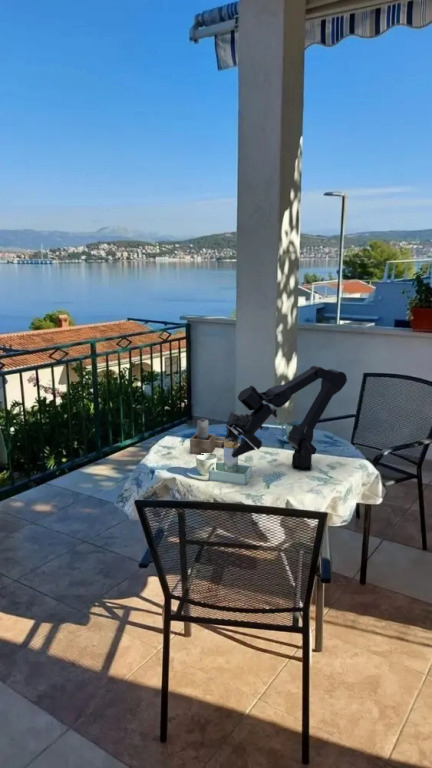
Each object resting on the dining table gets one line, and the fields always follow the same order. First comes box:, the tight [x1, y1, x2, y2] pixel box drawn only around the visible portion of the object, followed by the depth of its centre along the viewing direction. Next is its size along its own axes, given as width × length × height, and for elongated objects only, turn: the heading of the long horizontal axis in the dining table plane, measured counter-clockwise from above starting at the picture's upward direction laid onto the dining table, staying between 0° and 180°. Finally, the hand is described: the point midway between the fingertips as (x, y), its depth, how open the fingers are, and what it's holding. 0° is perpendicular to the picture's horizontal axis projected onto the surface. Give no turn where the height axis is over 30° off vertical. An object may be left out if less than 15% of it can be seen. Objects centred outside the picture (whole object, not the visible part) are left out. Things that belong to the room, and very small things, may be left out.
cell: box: [223, 437, 240, 474], centre depth 171 cm, size 5×5×14 cm
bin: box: [189, 418, 216, 455], centre depth 197 cm, size 8×8×13 cm
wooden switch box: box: [215, 436, 226, 449], centre depth 205 cm, size 8×6×3 cm
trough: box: [208, 461, 253, 486], centre depth 173 cm, size 13×9×4 cm, turn 74°
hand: (227, 452), depth 170 cm, fingers open, 9 cm apart
